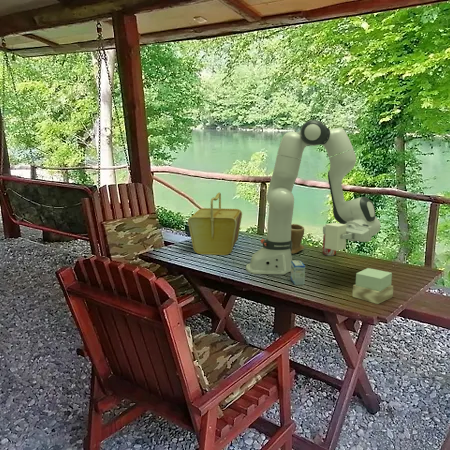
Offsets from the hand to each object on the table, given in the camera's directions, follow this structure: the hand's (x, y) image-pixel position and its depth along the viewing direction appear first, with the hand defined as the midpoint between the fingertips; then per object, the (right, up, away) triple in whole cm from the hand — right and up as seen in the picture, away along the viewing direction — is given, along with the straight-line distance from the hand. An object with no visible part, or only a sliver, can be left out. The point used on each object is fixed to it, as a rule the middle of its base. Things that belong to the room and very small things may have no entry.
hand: (334, 235), depth 192 cm
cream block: (+1, -5, +2) cm, 6 cm away
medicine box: (-14, -21, +9) cm, 26 cm away
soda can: (+10, -11, +53) cm, 55 cm away
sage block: (+13, -19, -9) cm, 25 cm away
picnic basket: (-50, -9, +66) cm, 83 cm away
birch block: (+13, -24, -9) cm, 29 cm away
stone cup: (-8, -10, +59) cm, 61 cm away
